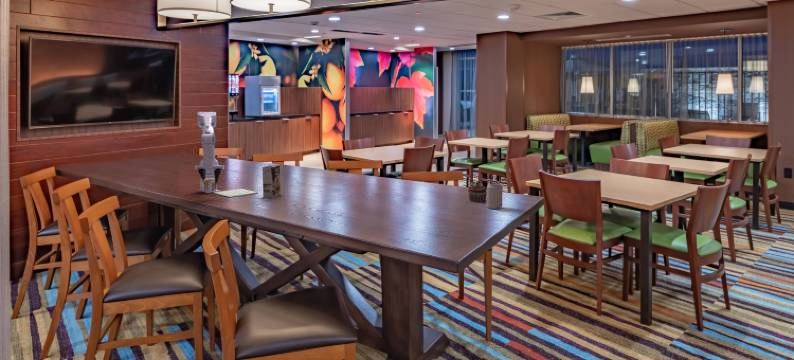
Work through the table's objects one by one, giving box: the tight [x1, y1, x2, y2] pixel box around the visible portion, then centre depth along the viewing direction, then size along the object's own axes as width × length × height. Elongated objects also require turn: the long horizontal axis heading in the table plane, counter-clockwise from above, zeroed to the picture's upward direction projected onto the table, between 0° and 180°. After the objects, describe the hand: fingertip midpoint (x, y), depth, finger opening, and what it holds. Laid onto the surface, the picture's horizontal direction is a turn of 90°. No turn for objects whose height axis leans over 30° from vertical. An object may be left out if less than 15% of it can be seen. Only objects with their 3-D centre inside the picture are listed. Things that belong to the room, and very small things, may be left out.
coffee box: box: [262, 164, 281, 198], centre depth 297 cm, size 9×6×16 cm
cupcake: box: [467, 180, 487, 203], centre depth 286 cm, size 10×10×10 cm
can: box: [485, 182, 504, 210], centre depth 268 cm, size 8×8×12 cm
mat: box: [213, 188, 259, 199], centre depth 306 cm, size 17×17×1 cm
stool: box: [203, 178, 218, 191], centre depth 288 cm, size 5×5×6 cm
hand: (210, 183), depth 288 cm, fingers closed on stool, 5 cm apart
